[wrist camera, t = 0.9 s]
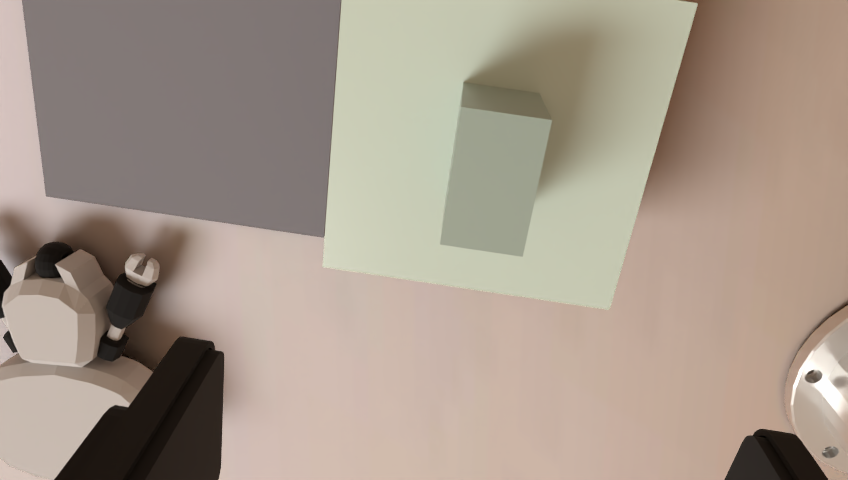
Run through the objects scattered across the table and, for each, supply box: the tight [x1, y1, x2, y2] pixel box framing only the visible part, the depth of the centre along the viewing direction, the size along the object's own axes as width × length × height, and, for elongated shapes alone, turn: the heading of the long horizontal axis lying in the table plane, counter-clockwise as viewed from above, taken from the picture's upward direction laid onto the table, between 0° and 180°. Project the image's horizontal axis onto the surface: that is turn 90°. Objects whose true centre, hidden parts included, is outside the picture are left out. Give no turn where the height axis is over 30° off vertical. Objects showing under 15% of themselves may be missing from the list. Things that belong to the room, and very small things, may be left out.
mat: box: [22, 0, 342, 238], centre depth 31 cm, size 15×15×1 cm
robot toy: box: [0, 242, 160, 480], centre depth 37 cm, size 12×4×15 cm
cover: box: [322, 0, 698, 310], centre depth 24 cm, size 13×13×5 cm
